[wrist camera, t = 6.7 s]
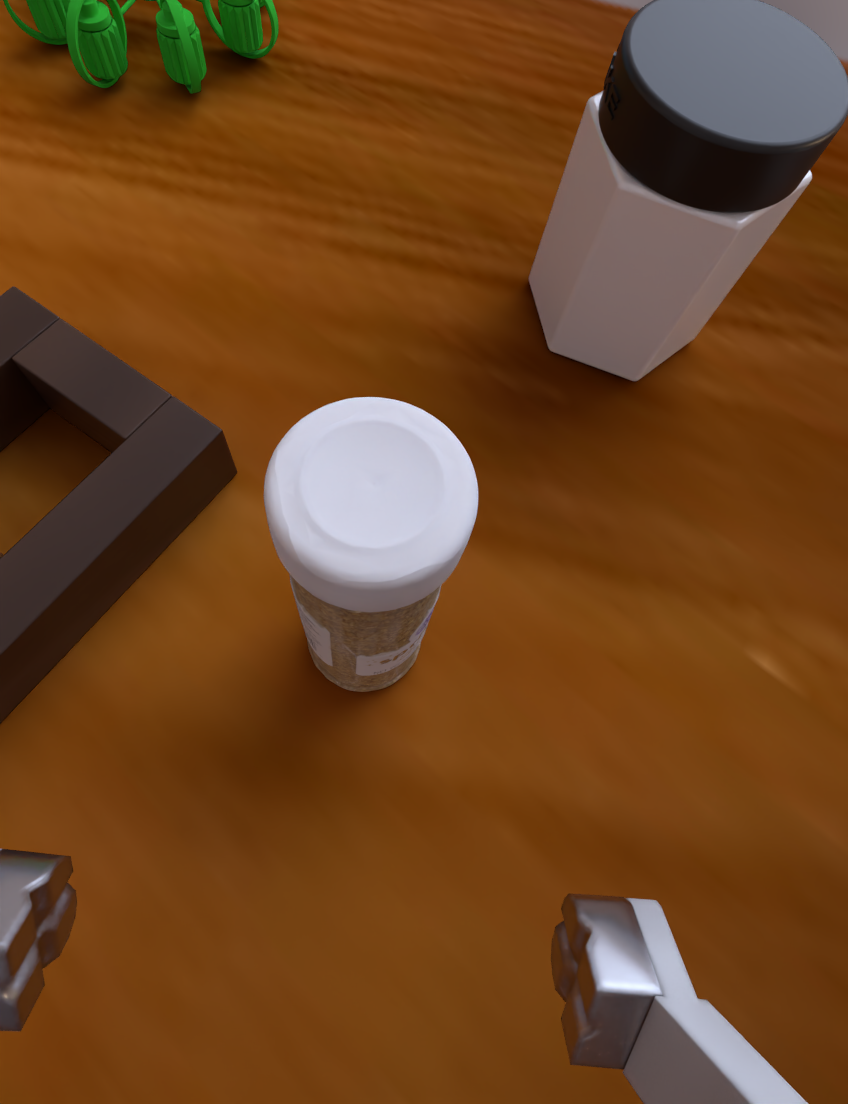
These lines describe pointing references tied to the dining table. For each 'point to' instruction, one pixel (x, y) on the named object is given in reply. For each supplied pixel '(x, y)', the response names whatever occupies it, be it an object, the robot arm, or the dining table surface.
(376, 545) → the sprinkles bottle
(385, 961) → the dining table surface
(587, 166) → the jar
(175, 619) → the dining table surface
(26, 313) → the holder
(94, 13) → the chandelier
